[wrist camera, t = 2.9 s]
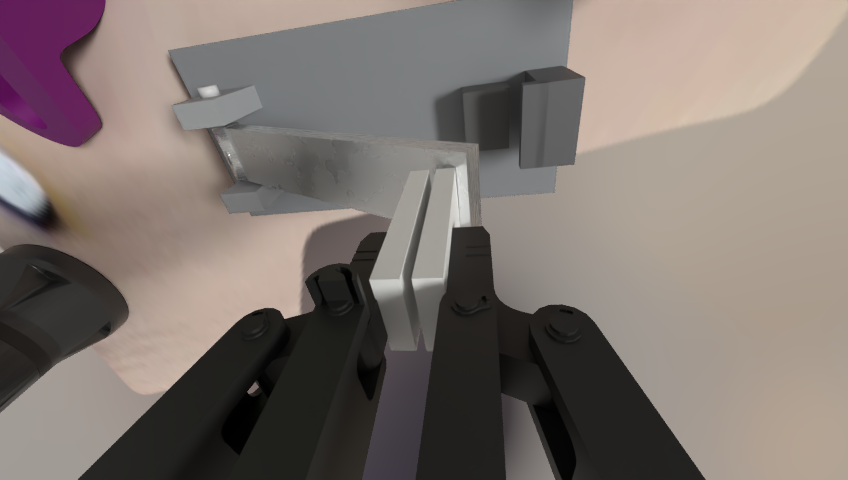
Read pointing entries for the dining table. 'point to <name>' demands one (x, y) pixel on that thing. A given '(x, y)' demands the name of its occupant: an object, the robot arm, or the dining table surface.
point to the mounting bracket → (45, 67)
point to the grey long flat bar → (349, 166)
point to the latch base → (402, 89)
